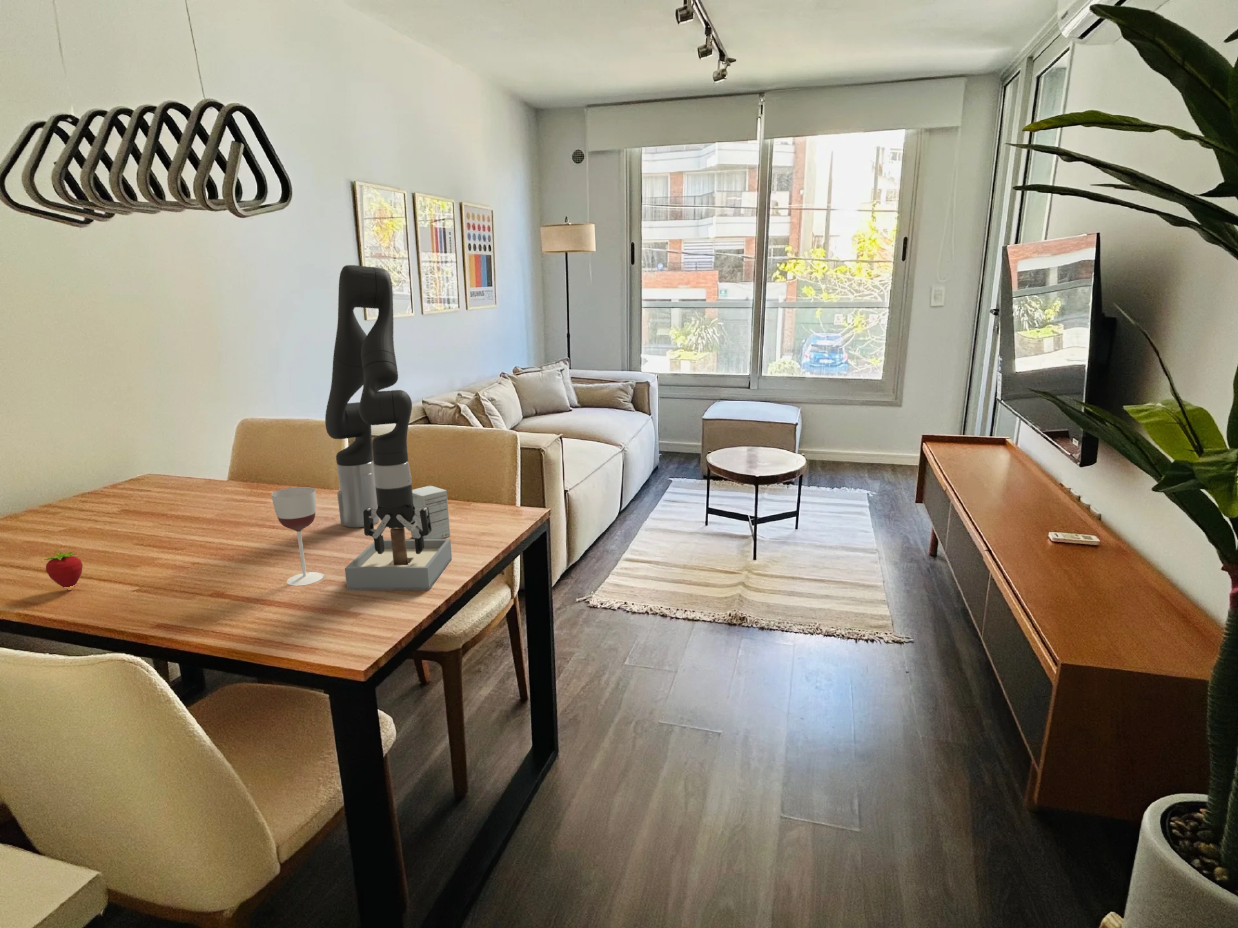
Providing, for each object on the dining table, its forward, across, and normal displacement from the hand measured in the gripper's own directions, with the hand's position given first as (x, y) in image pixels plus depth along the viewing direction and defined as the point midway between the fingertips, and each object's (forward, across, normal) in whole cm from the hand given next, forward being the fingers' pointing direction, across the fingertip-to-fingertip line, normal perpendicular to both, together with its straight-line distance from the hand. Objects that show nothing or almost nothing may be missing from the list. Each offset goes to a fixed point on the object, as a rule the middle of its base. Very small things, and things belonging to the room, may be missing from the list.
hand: (400, 552), depth 153 cm
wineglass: (+5, -21, -2) cm, 22 cm away
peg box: (+5, 0, 0) cm, 5 cm away
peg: (+4, 0, 0) cm, 4 cm away
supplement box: (+5, -1, +24) cm, 25 cm away
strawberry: (+5, -70, -8) cm, 71 cm away
